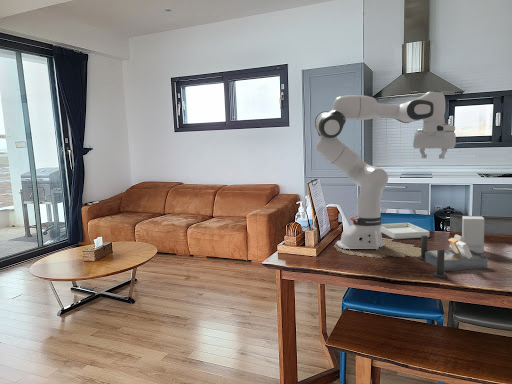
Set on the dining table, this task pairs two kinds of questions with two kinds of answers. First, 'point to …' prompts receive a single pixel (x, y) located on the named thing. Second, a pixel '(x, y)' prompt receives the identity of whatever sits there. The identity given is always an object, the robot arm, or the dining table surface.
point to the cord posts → (440, 257)
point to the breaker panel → (458, 260)
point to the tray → (403, 230)
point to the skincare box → (473, 232)
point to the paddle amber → (454, 245)
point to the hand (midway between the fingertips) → (432, 158)
